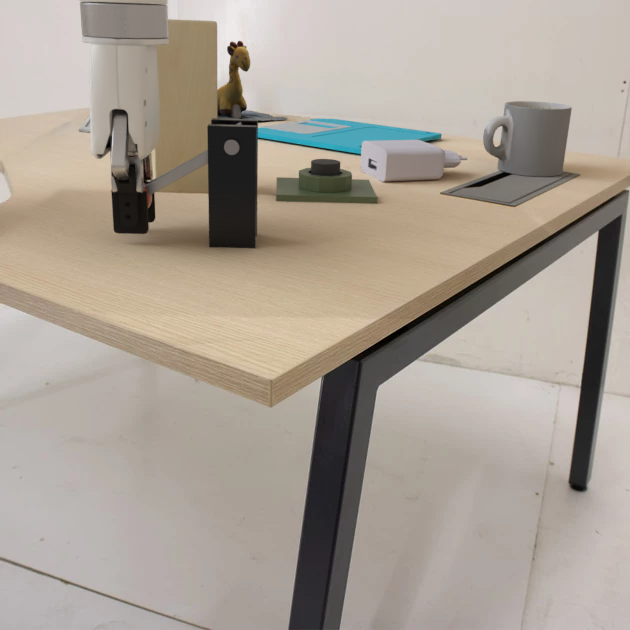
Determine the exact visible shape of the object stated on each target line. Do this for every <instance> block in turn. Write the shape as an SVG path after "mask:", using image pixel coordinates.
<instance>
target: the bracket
mask: <svg viewBox="0 0 630 630" xmlns="http://www.w3.org/2000/svg"><path fill="white" fill-rule="evenodd" d="M239 122H241V123H242V125H236V124H237V123H239ZM258 128H259V121H258V120H255V119H221V118H212V120H211V124H208V126H207V133H208V194H207V196H208V197H207V198H208V247H209V248H221V249H222V248H223V249H224V248H225V249H227V248H228V249H256V248H257V237H258V177H259V176H258V172H259V171H258V168H259V165H258V163H259V161H258V160H259V154H258V153H259V137H258Z"/></svg>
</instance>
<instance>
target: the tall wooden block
mask: <svg viewBox="0 0 630 630" xmlns="http://www.w3.org/2000/svg"><path fill="white" fill-rule="evenodd" d="M168 38H169V44H167V45H156V47H157V62H158V81H159V106H160V135H159V142H158V145H157V146H156V147H155V149H154V150H153V151H152V152H151V154H152V170H153V179H152V180H154V179H155V178H157V177H159V176H161V175H163V174H164V173H166V172H168V171H170V170H172V169H173V168H175V167H177V166H179V165H181V164H182V163H184V162H186V161H188V160H190V159H191V158H193V157H195V156H197V155H199V154H200V153H202V152H204V151H206V150H208V133H207V126H208V124H211V120H212V118H217V90H218V23H217V21H215V20H201V19H177V18H168ZM156 193H163V194H164V193H166V194H167V193H168V194H169V193H170V194H201V195H202V194H205V195H208V163H207V164H205V165H204V166H202V167H200V168H198V169H196V170H195V171H193V172H191V173H189V174H187V175H186V176H184V177H182V178H180V179H178V180H176V181H175V182H173V183H171V184H169V185H167V186H166V187H164V188H162V189H160V190H158V191H157V192H156Z"/></svg>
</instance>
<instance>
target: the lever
mask: <svg viewBox="0 0 630 630" xmlns="http://www.w3.org/2000/svg"><path fill="white" fill-rule="evenodd" d="M236 125H242V123H241V122H239V123H237V124H236ZM207 163H208V150H206V151H204V152H202V153H200V154H199V155H197V156H195V157H193V158H191V159H190V160H188V161H186V162H184V163H182V164H181V165H179V166H177V167H175V168H173V169H172V170H170V171H168V172H166V173H164V174H163V175H161V176H159V177H157V178H155V179H154V180H152V181H150V182H148V183H146V184H145V183H144V191H147V199H148V208H149V207H150V205H151V202H152V194H153V193H154V194H155V193H158V192H157V191H158V190H160V189H162V188H164V187H166V186H167V185H169V184H171V183H173V182H175V181H176V180H178V179H180V178H182V177H184V176H186V175H187V174H189V173H191V172H193V171H195V170H196V169H198V168H200V167H202V166H204V165H205V164H207Z"/></svg>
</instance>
